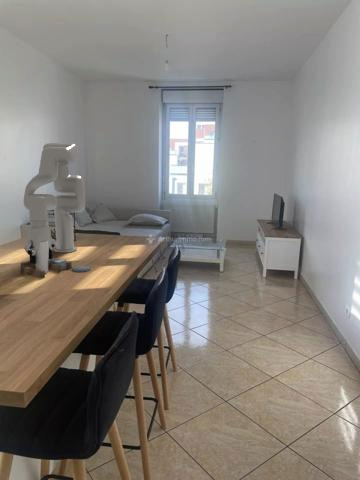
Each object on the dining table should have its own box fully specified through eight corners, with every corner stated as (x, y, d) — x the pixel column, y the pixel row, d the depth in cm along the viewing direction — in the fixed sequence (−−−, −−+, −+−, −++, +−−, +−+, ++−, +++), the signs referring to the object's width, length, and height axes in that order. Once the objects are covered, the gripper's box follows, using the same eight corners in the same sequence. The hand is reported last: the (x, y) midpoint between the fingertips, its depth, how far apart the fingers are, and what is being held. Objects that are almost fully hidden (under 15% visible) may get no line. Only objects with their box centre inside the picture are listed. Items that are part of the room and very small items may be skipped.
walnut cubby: (21, 273, 160) (20, 262, 159) (51, 263, 176) (51, 254, 175) (42, 278, 154) (41, 267, 153) (71, 267, 170) (71, 257, 169)
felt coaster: (67, 270, 166) (67, 269, 166) (80, 265, 174) (80, 264, 174) (82, 273, 162) (82, 272, 162) (94, 268, 170) (94, 267, 170)
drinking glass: (53, 271, 164) (51, 239, 161) (43, 275, 158) (41, 242, 155) (41, 269, 166) (39, 238, 163) (31, 273, 160) (28, 241, 157)
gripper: (48, 220, 167) (50, 255, 170) (16, 225, 151) (19, 264, 155) (60, 222, 163) (61, 257, 167) (29, 227, 148) (32, 267, 152)
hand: (41, 261), depth 161 cm, fingers open, 9 cm apart
